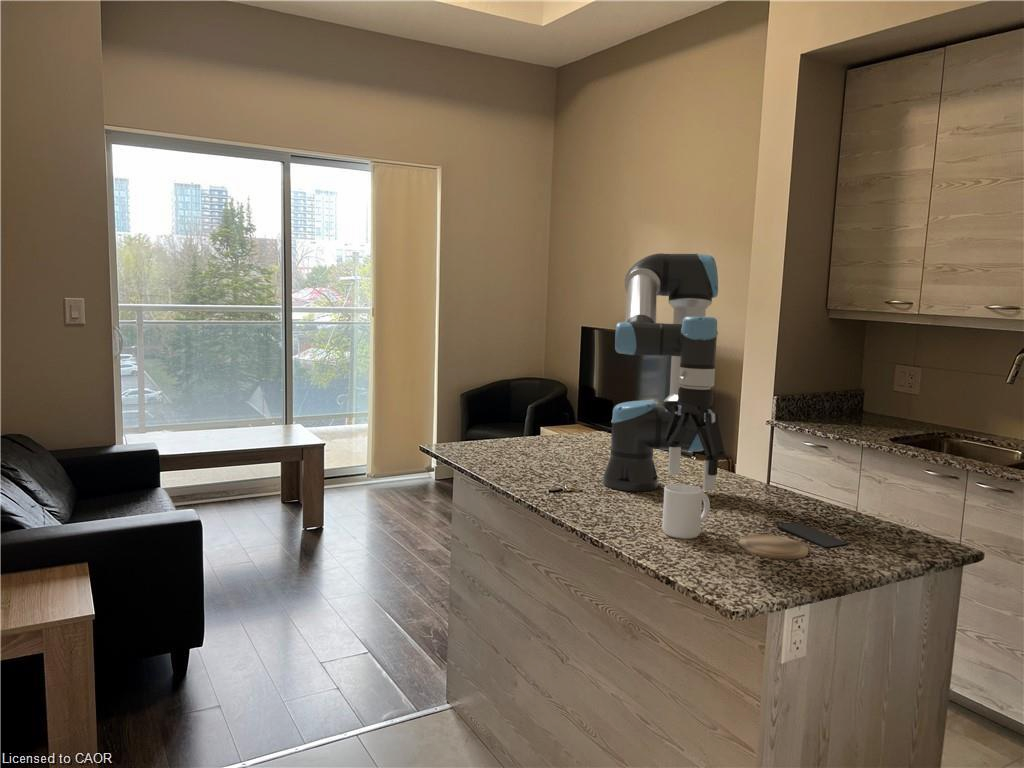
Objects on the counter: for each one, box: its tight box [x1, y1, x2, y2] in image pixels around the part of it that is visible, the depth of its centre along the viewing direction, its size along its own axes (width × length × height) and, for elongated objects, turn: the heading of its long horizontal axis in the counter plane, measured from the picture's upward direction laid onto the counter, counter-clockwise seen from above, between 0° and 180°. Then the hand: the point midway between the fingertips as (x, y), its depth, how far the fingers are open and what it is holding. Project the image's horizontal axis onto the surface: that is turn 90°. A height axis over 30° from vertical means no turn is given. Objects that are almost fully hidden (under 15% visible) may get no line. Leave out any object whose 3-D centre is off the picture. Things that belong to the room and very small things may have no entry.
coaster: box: [738, 533, 809, 561], centre depth 157 cm, size 14×14×1 cm
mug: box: [661, 483, 711, 540], centre depth 165 cm, size 12×8×10 cm
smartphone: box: [776, 522, 849, 549], centre depth 166 cm, size 7×1×15 cm
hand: (690, 482), depth 164 cm, fingers open, 13 cm apart
